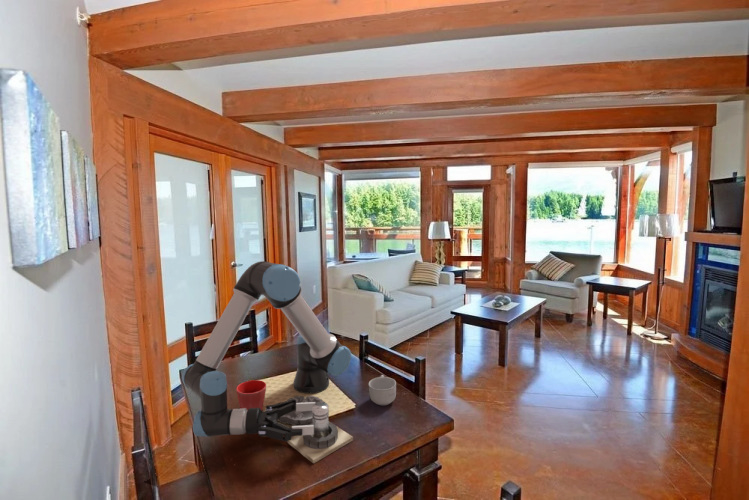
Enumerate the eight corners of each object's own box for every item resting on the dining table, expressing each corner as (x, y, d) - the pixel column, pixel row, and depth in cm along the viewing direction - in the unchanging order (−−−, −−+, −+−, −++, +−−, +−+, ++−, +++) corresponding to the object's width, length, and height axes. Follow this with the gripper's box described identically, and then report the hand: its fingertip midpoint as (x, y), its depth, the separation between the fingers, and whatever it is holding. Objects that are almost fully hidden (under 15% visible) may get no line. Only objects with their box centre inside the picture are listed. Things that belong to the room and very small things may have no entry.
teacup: (393, 410, 141) (393, 390, 140) (365, 407, 143) (365, 387, 142) (398, 392, 155) (398, 374, 154) (373, 389, 157) (373, 371, 156)
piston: (308, 438, 122) (308, 406, 120) (321, 431, 125) (321, 400, 124) (318, 445, 118) (318, 412, 117) (331, 438, 122) (331, 406, 120)
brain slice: (330, 402, 147) (330, 395, 146) (326, 427, 130) (326, 419, 130) (280, 402, 146) (280, 395, 146) (269, 428, 129) (269, 420, 129)
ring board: (287, 442, 121) (287, 432, 120) (326, 422, 132) (326, 413, 132) (313, 463, 111) (313, 452, 111) (353, 440, 123) (353, 429, 122)
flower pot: (272, 406, 143) (272, 382, 142) (254, 421, 133) (254, 395, 132) (249, 401, 147) (249, 377, 146) (230, 415, 136) (229, 390, 135)
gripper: (255, 410, 131) (316, 407, 133) (237, 458, 106) (312, 453, 108) (254, 390, 130) (316, 387, 132) (236, 433, 105) (312, 429, 108)
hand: (314, 417), depth 120 cm, fingers open, 13 cm apart
